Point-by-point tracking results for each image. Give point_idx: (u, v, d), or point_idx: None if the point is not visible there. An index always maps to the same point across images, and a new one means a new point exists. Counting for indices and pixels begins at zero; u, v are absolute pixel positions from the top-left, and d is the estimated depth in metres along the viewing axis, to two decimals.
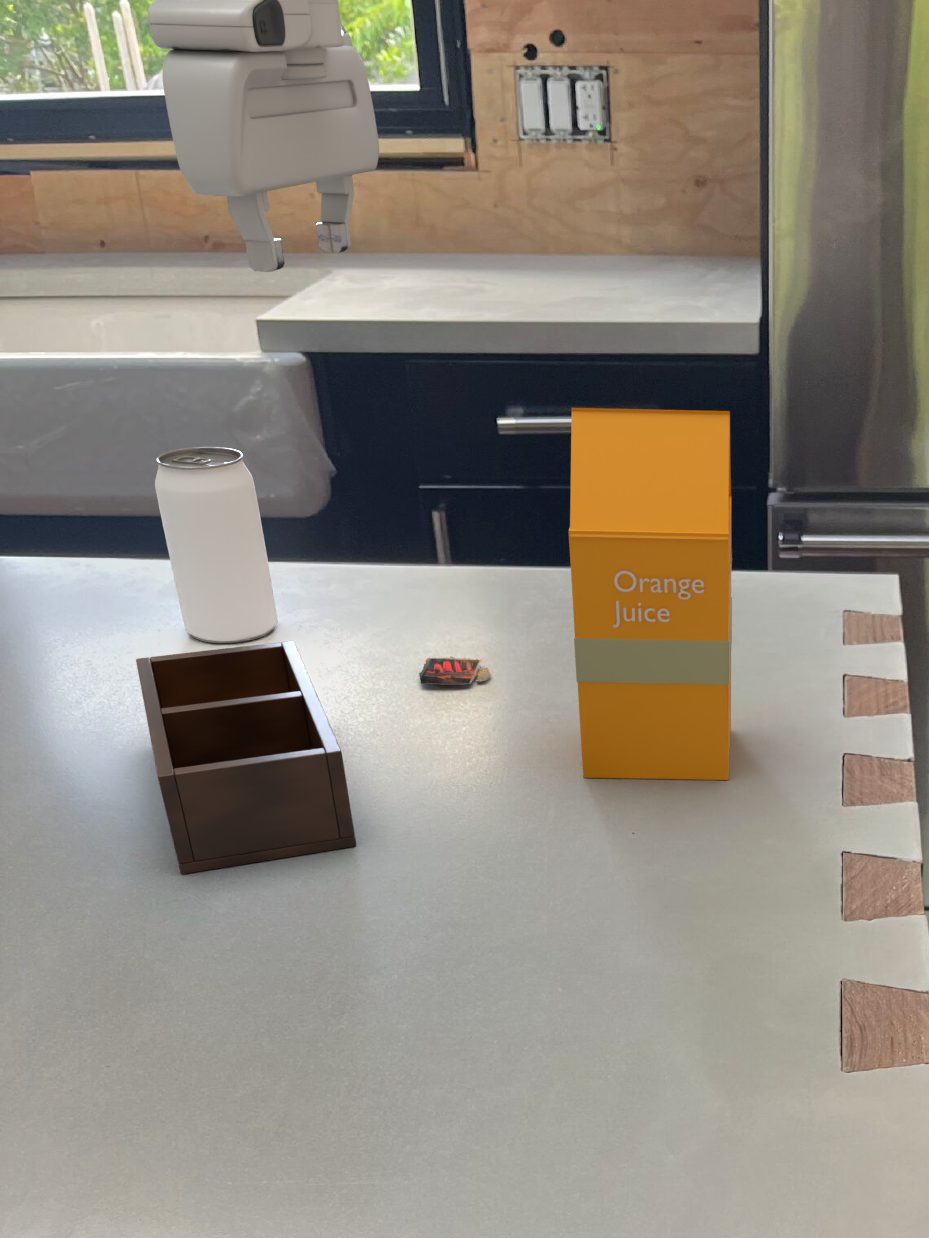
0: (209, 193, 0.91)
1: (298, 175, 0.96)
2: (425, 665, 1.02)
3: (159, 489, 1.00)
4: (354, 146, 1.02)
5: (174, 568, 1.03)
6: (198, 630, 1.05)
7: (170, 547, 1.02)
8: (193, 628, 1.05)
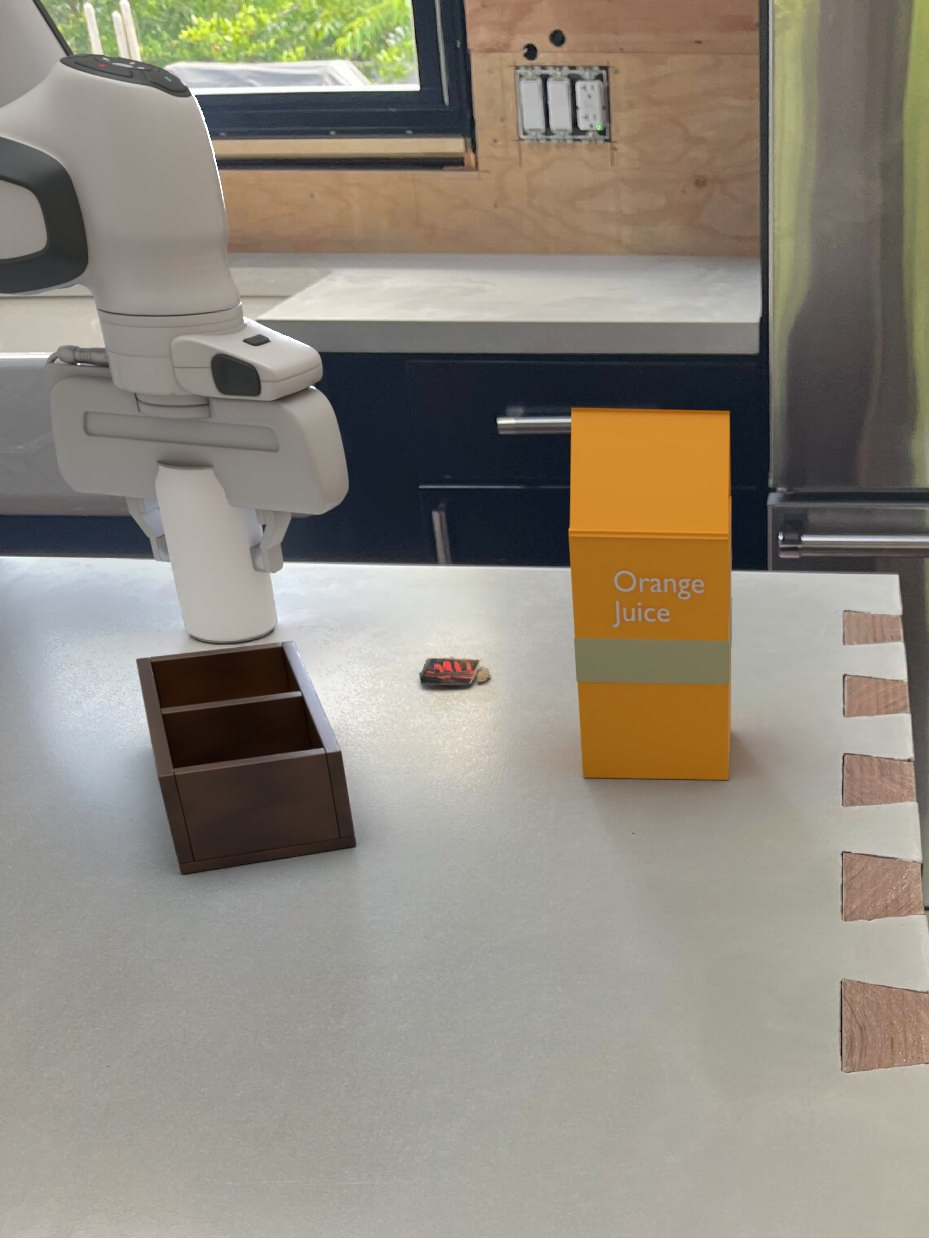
0: (330, 509, 1.01)
1: None
2: (425, 665, 1.02)
3: (160, 489, 1.00)
4: None
5: (174, 568, 1.03)
6: (198, 630, 1.05)
7: (170, 547, 1.02)
8: (193, 628, 1.05)
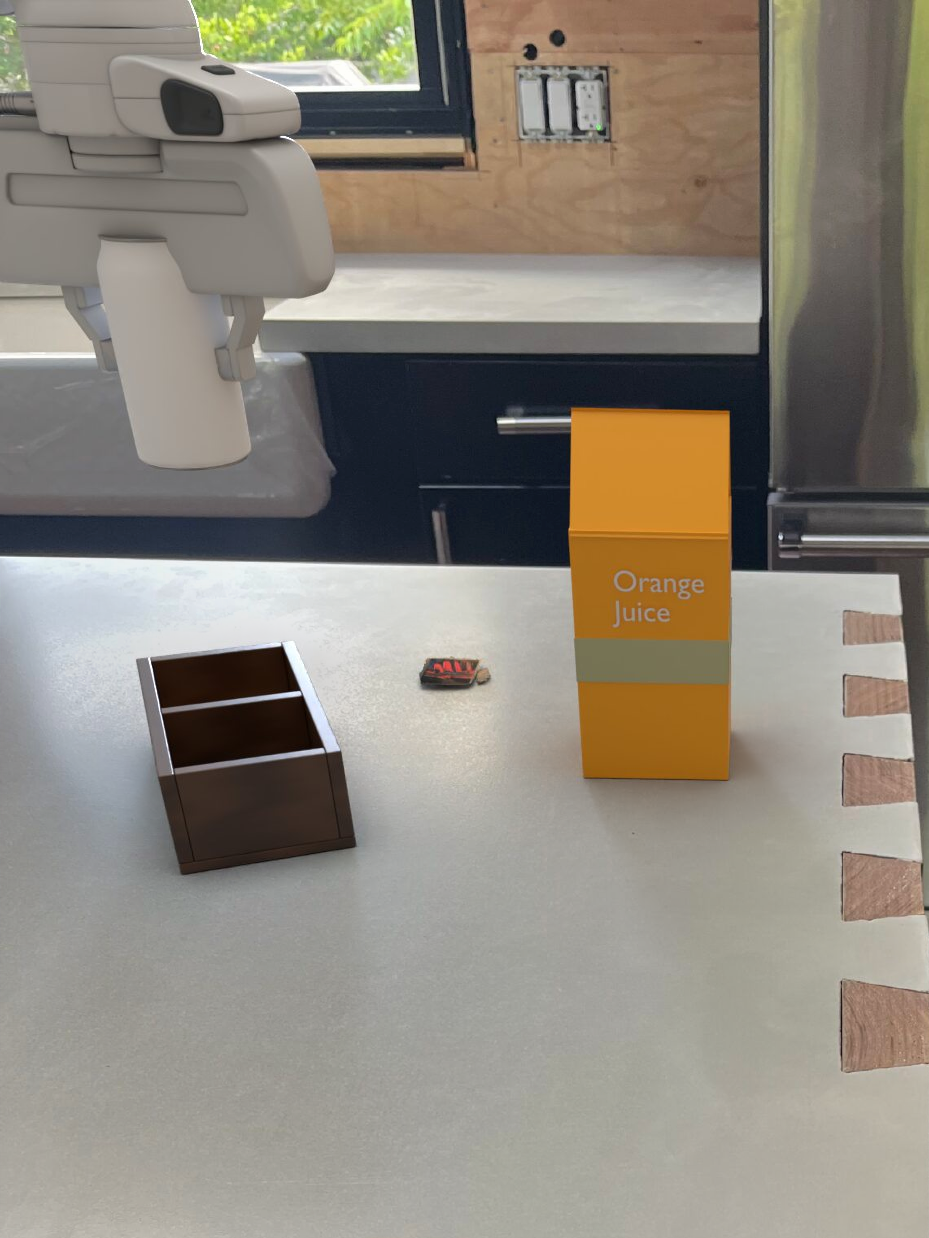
0: (313, 293, 0.82)
1: None
2: (425, 665, 1.02)
3: (102, 270, 0.81)
4: None
5: (122, 375, 0.84)
6: (154, 454, 0.86)
7: (117, 347, 0.83)
8: (147, 453, 0.86)
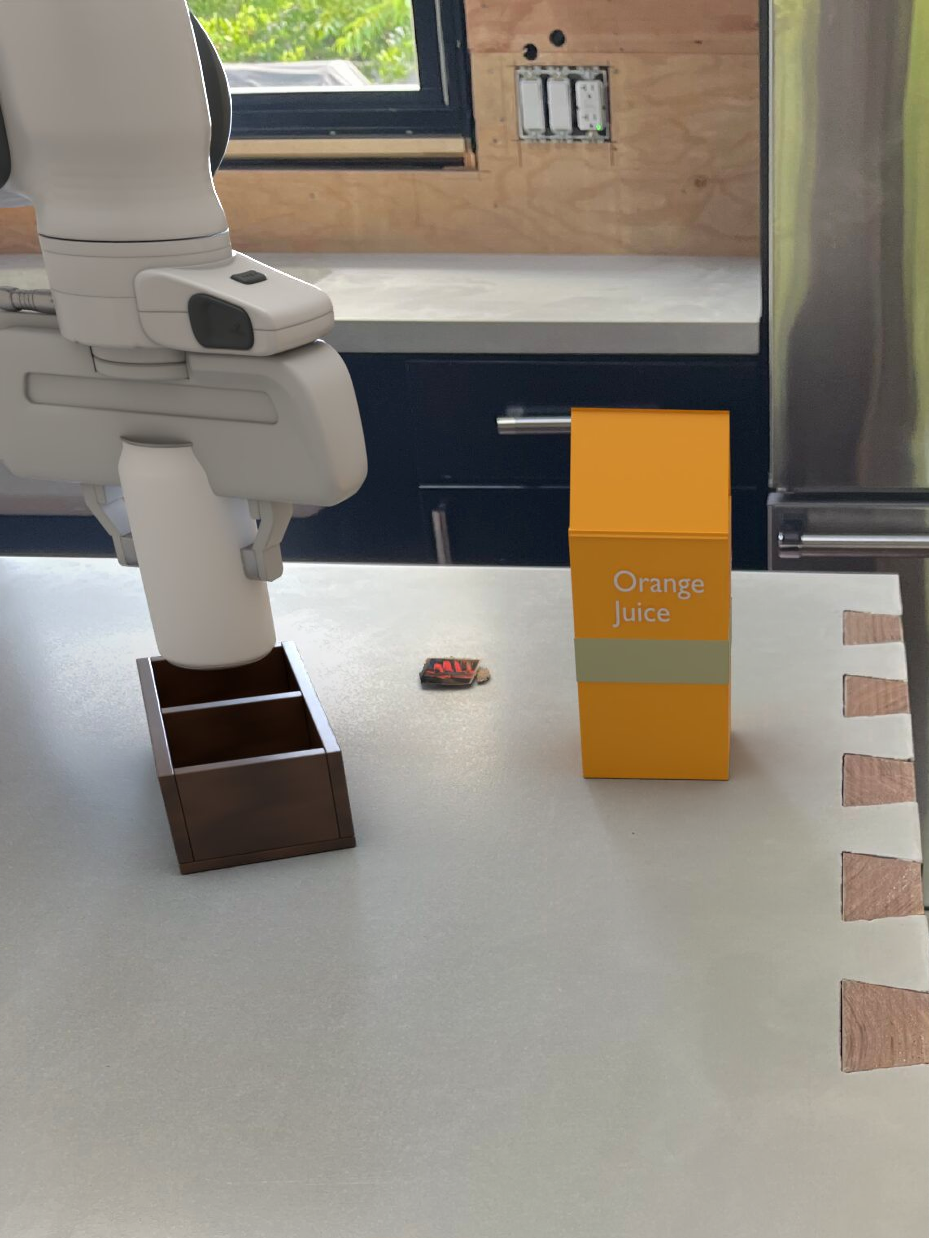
0: (344, 499, 0.78)
1: None
2: (425, 665, 1.02)
3: (124, 472, 0.77)
4: None
5: (143, 575, 0.81)
6: (175, 654, 0.82)
7: (138, 548, 0.80)
8: (168, 651, 0.83)
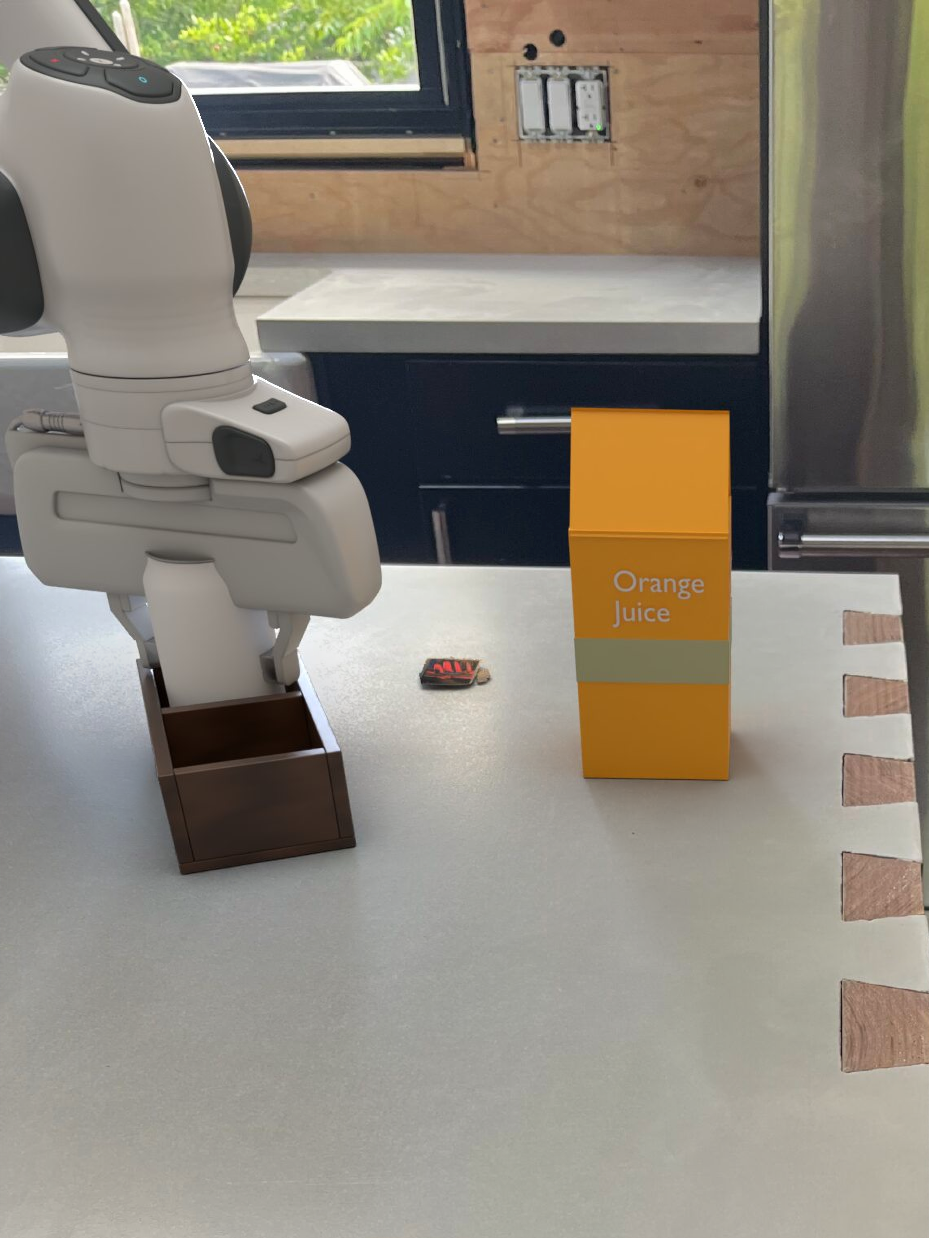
0: (359, 611, 0.81)
1: None
2: (425, 665, 1.02)
3: (148, 586, 0.81)
4: None
5: (166, 680, 0.84)
6: None
7: (162, 655, 0.83)
8: None
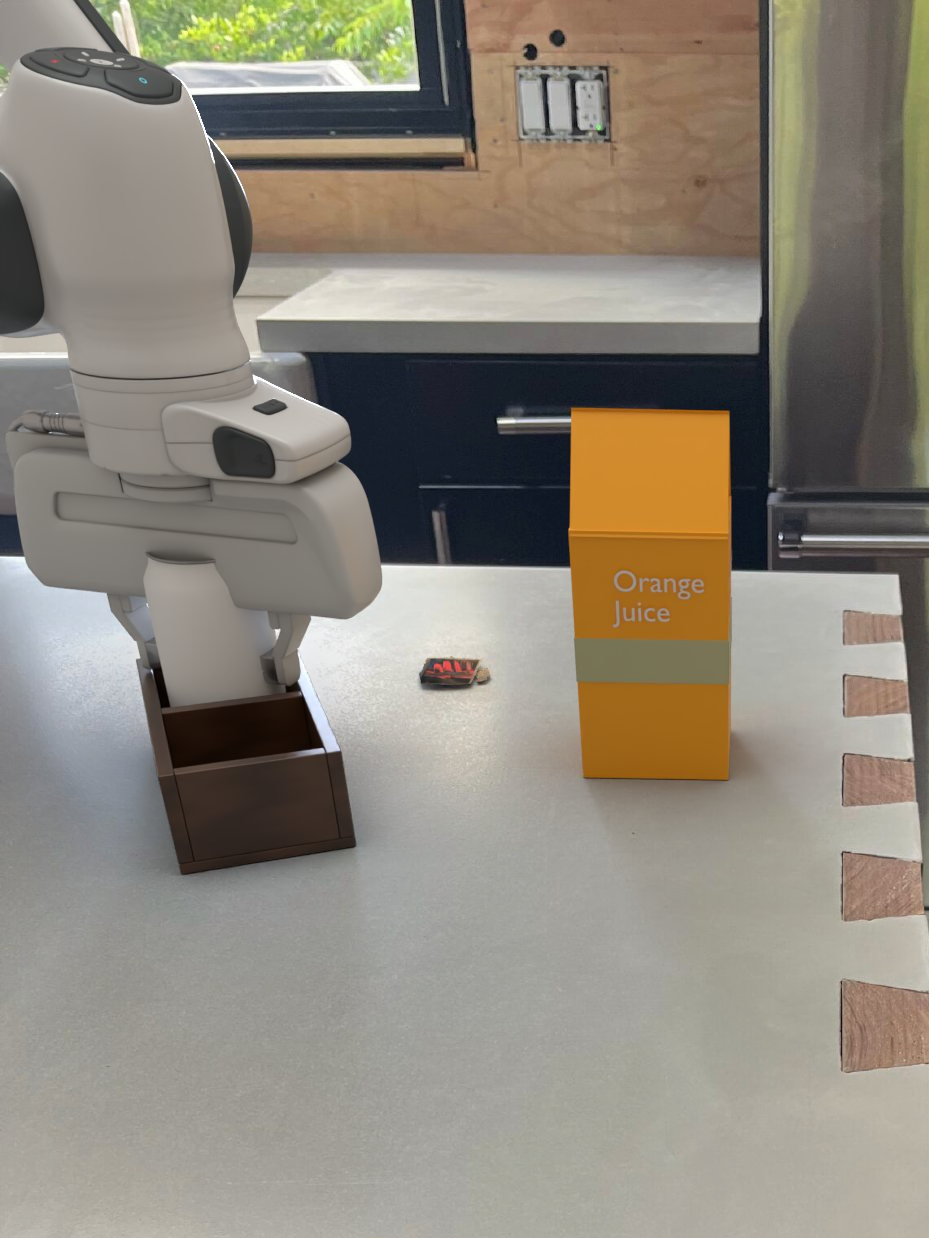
0: (360, 611, 0.81)
1: None
2: (425, 665, 1.02)
3: (149, 587, 0.81)
4: None
5: (167, 680, 0.84)
6: None
7: (162, 655, 0.83)
8: None
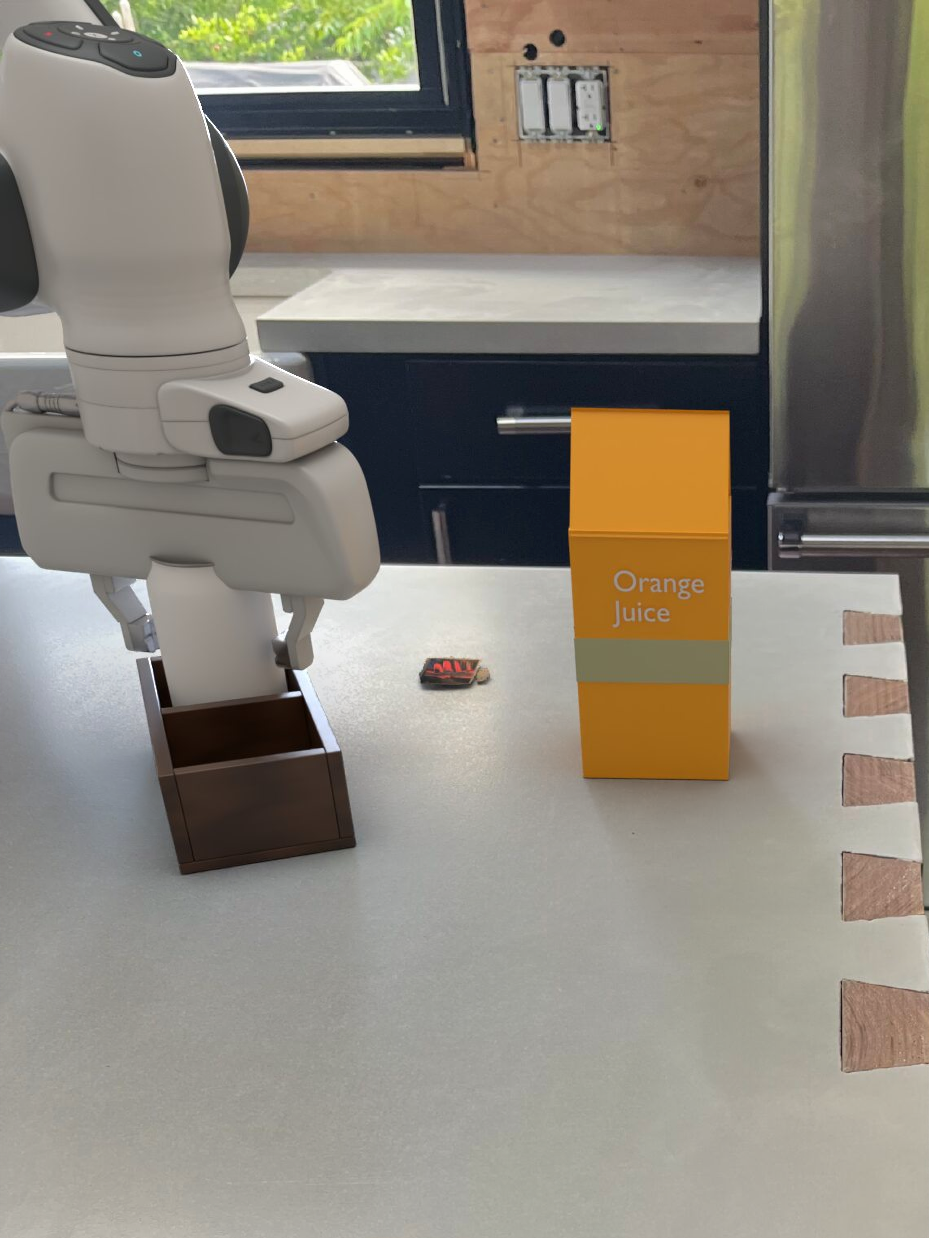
0: None
1: None
2: (425, 665, 1.02)
3: (153, 590, 0.81)
4: None
5: (170, 683, 0.84)
6: None
7: (166, 658, 0.83)
8: None
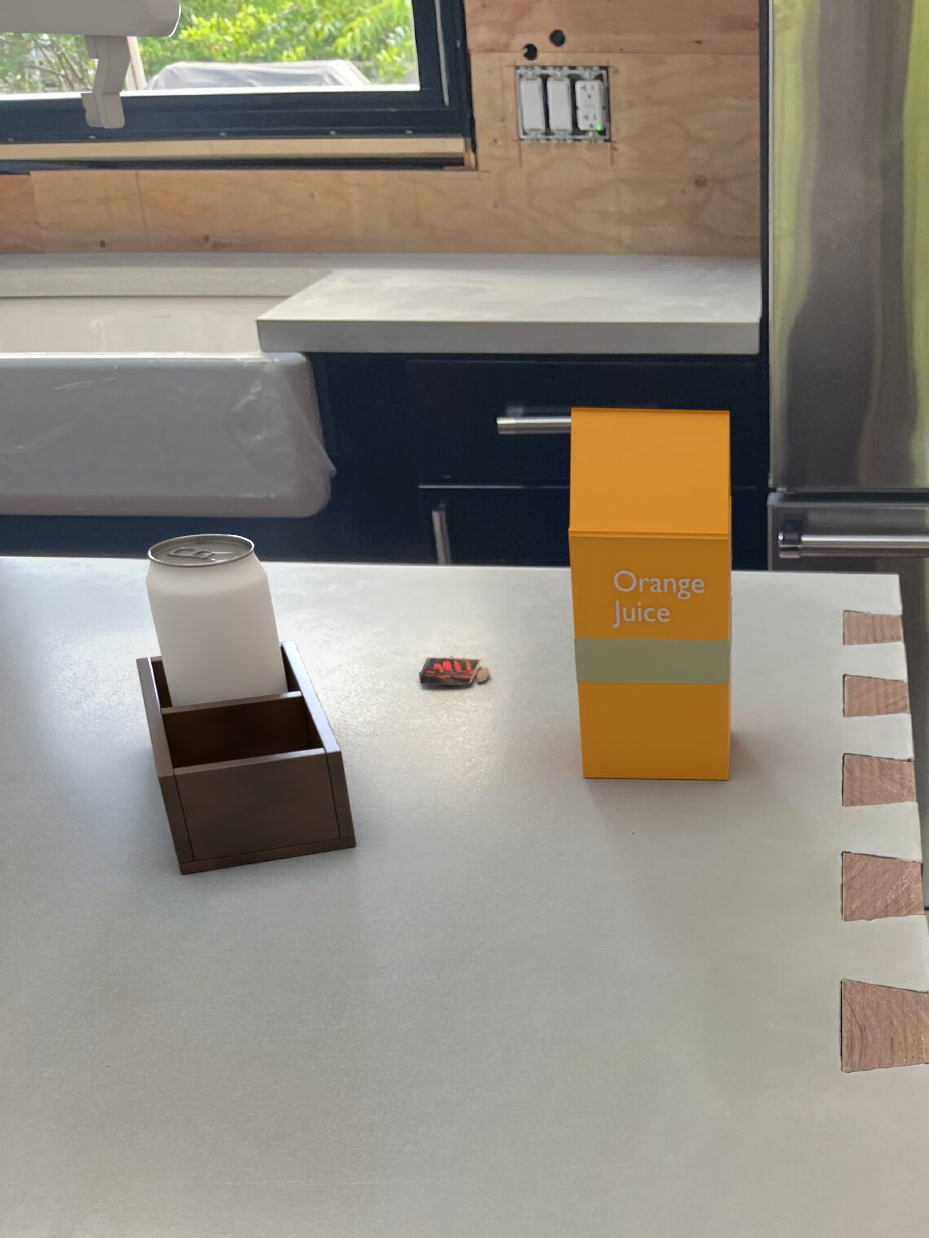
0: (157, 34, 0.86)
1: None
2: (425, 664, 1.02)
3: (152, 590, 0.81)
4: None
5: (170, 683, 0.84)
6: None
7: (166, 658, 0.83)
8: None
